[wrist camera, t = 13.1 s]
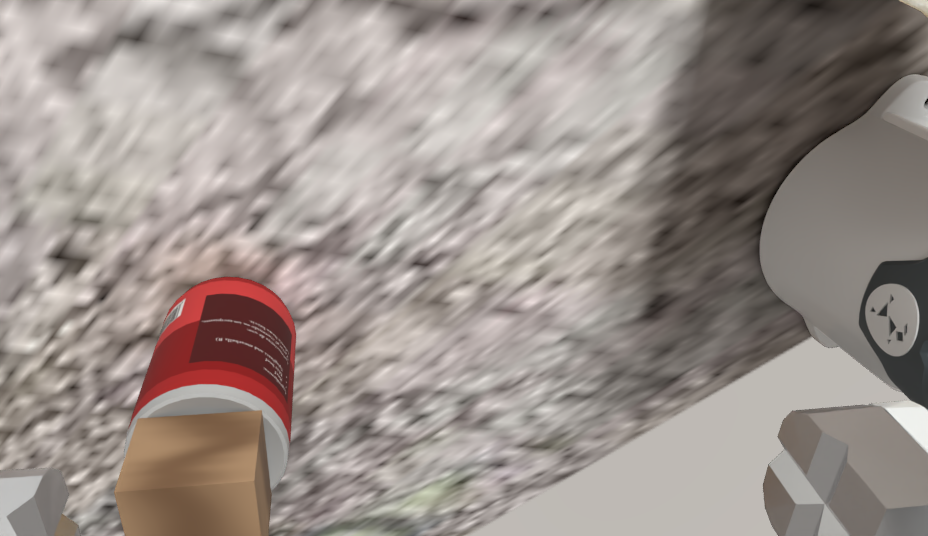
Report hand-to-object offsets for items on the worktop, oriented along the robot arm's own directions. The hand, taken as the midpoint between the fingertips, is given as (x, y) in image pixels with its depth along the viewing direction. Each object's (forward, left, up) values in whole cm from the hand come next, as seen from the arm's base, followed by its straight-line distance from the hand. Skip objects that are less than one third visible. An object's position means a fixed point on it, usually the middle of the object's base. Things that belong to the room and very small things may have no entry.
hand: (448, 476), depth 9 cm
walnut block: (+8, +20, -22) cm, 31 cm away
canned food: (+8, +20, -33) cm, 40 cm away
